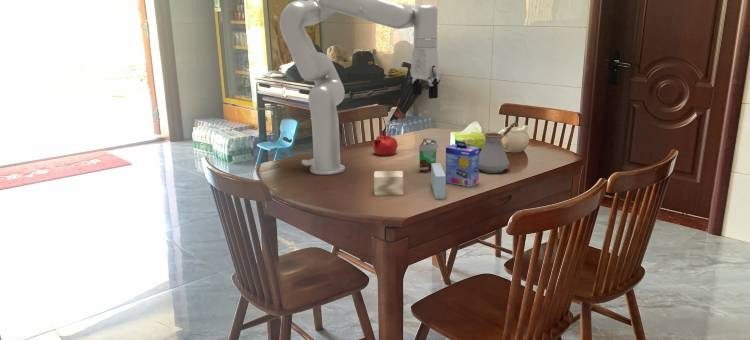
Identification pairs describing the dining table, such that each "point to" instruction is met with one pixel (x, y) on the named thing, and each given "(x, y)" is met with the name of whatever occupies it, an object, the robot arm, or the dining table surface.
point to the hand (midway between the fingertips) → (424, 96)
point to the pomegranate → (385, 145)
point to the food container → (427, 154)
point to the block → (388, 183)
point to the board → (438, 180)
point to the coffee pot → (494, 153)
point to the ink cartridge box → (462, 164)
